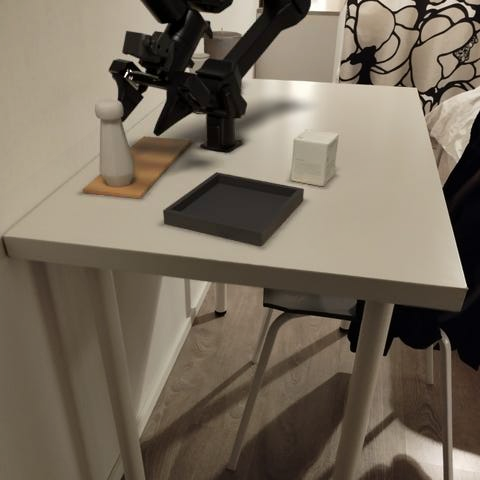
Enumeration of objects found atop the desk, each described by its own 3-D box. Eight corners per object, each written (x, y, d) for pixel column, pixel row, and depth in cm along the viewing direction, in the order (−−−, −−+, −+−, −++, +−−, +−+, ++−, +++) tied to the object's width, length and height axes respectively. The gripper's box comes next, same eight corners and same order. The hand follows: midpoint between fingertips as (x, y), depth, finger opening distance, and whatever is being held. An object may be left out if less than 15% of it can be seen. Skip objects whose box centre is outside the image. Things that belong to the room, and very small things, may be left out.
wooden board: (144, 139, 107) (143, 136, 106) (190, 142, 105) (190, 139, 105) (82, 192, 85) (82, 189, 84) (140, 198, 83) (140, 195, 83)
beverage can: (209, 114, 121) (207, 57, 113) (189, 113, 121) (186, 56, 114) (213, 108, 124) (212, 53, 117) (193, 107, 125) (191, 52, 118)
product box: (323, 187, 87) (328, 143, 83) (289, 181, 89) (292, 138, 85) (334, 175, 91) (339, 133, 87) (302, 169, 94) (305, 128, 89)
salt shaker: (94, 184, 86) (80, 102, 78) (116, 173, 90) (105, 94, 82) (121, 192, 84) (110, 107, 76) (143, 180, 88) (134, 99, 80)
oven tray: (216, 184, 88) (216, 172, 87) (303, 201, 83) (304, 188, 81) (164, 223, 76) (162, 210, 75) (261, 246, 71) (261, 232, 69)
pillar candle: (197, 93, 136) (194, 28, 127) (220, 86, 142) (219, 23, 133) (227, 99, 131) (226, 32, 122) (249, 91, 138) (250, 27, 129)
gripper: (108, 3, 83) (65, 90, 83) (194, 13, 74) (145, 111, 74) (149, 50, 93) (110, 128, 92) (230, 64, 83) (187, 151, 83)
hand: (135, 129), depth 85 cm, fingers open, 9 cm apart
